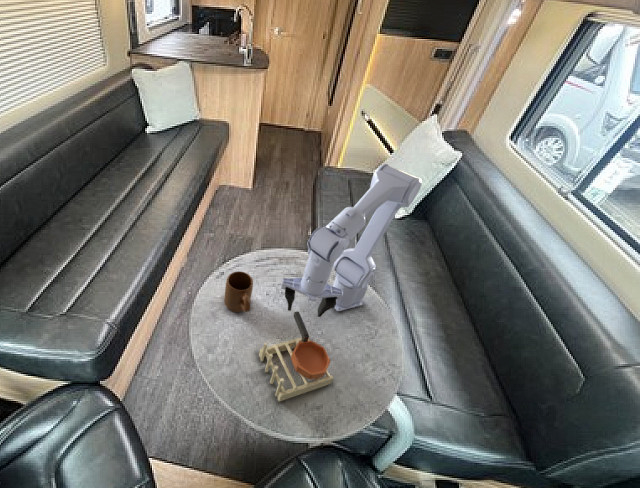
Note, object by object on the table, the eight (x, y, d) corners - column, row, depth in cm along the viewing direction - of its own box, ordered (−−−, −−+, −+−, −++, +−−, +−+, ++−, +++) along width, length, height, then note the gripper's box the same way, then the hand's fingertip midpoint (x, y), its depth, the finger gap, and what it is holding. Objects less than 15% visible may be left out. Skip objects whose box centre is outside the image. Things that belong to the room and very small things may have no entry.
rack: (306, 341, 87) (312, 325, 83) (330, 383, 78) (338, 368, 74) (257, 355, 82) (261, 339, 78) (278, 402, 73) (283, 386, 69)
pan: (333, 375, 76) (338, 365, 74) (299, 381, 74) (303, 371, 72) (307, 320, 88) (311, 309, 86) (278, 324, 86) (281, 313, 84)
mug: (258, 323, 90) (263, 301, 84) (232, 328, 87) (235, 306, 82) (244, 290, 99) (248, 269, 93) (221, 295, 97) (223, 272, 91)
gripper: (284, 279, 72) (274, 317, 80) (350, 292, 71) (333, 329, 79) (286, 258, 78) (277, 296, 86) (347, 270, 76) (331, 307, 84)
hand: (304, 310), depth 83 cm, fingers open, 7 cm apart
